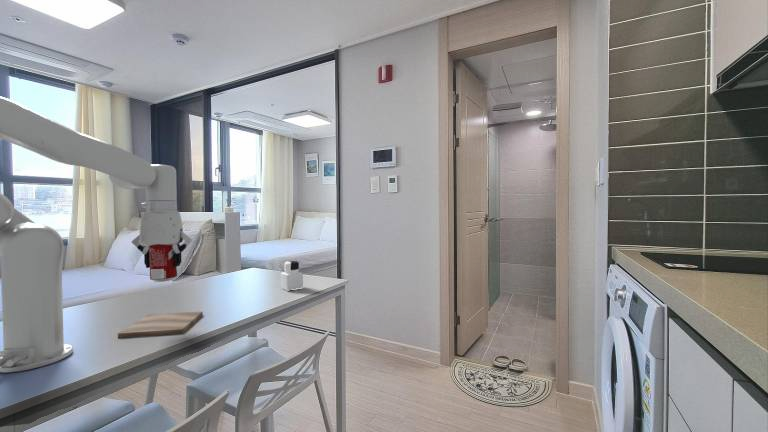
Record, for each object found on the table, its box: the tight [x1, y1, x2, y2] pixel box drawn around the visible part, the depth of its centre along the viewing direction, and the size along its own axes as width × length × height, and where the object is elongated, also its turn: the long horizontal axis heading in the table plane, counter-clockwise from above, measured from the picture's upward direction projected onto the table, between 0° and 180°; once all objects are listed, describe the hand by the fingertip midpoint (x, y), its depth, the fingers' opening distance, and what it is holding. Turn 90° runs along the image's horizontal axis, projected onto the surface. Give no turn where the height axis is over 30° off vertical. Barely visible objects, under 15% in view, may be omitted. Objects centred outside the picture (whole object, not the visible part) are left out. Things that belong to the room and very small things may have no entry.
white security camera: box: [280, 260, 304, 290], centre depth 142 cm, size 7×7×12 cm
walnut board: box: [117, 311, 203, 339], centre depth 98 cm, size 16×16×1 cm
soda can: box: [149, 244, 178, 283], centre depth 98 cm, size 7×7×12 cm
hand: (163, 266), depth 98 cm, fingers closed on soda can, 6 cm apart
